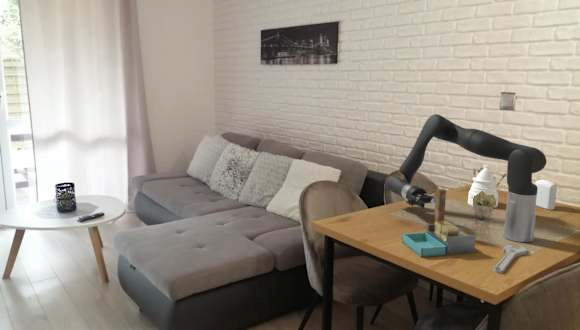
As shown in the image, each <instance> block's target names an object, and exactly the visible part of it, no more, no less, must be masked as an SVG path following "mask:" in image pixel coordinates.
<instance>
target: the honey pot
mask: <svg viewBox="0 0 580 330" xmlns="http://www.w3.org/2000/svg"><path fill="white" fill-rule="evenodd" d="M483 168H484V169H481V170H480V171H479V173H477V175H476V176H474V177H472V181H473V183H472V184H471V187H470V189H469V191H468V195H467V197H468V198H467V204H468V205H470V206H472V207H474V206H473V198H474V196H476V195H477V194H479V193H480V192H481V191H483V192H484V193H485V194H486V195H494V197H495V200H496V206H495V208H497V207H498V204H499V193H498V187H497V185H496V183H497V180H496V179H495V178H494V177H493V175H492V172H491V171H490V170H489V169H490V165H488V164H484V165H483Z"/></svg>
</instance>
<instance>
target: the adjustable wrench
mask: <svg viewBox="0 0 580 330" xmlns="http://www.w3.org/2000/svg"><path fill="white" fill-rule="evenodd" d="M527 250H528V249H527V248H526V247H525V246H522V245H519V248H515V247H514V248H513V245H511V244H507V245H505V247H503V248H502V251H503V252H504V251H505V252H504V253H506V254H505V255H504V256H503V257H502V258H501V259H500V261H498V262H497V263H496V265H495V266H494V267H493V272H494V273H496V274H503V273H504V272H505V270H506V269H507V268H508V267H509V265H510V264H511V262H512V261H513V260H514V259H515V258H516V257H519V256H524V255H527ZM523 254H524V255H523Z"/></svg>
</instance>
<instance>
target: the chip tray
mask: <svg viewBox="0 0 580 330" xmlns="http://www.w3.org/2000/svg"><path fill="white" fill-rule="evenodd" d="M401 243H402V244H404V245H405V246H406V247H407V248H409V249H410V250H411V251H412V252H414V253H415V254H416V255H418V256H419V257H420V258H425V257H426V258H428V257H437V256H439V257H440V256H447V255H446V250H447V246H445V245H444V244H442V243H441V242H439V241H438V240H436V239H435V238H433V237H432V236H430V235H429V234H427V233H426V231H423V232H411V233H402V234H401Z"/></svg>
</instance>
